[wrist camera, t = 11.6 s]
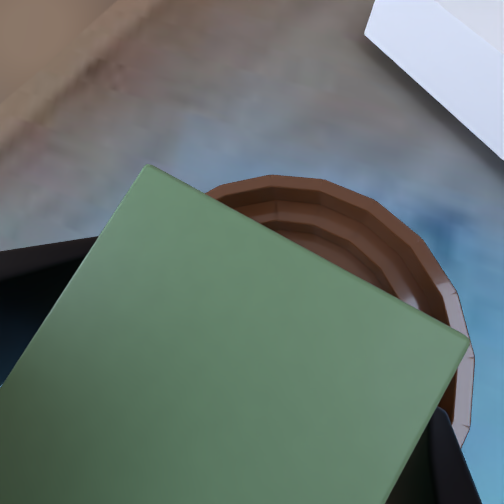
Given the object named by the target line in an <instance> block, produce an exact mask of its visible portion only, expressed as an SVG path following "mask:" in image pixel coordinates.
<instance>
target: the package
mask: <svg viewBox="0 0 504 504" xmlns="http://www.w3.org/2000/svg"><path fill="white" fill-rule="evenodd" d="M469 346H470V340H469V338H468V337H467V336H466V335H464V334H462V333H461V332H459V331H457V330H455V329H453V328H451V327H450V326H448V325H446V324H444V323H442V322H440V321H438V320H437V319H435V318H433V317H431V316H429V315H427V314H426V313H424V312H422V311H420V310H418V309H416V308H415V307H413V306H411V305H409V304H407V303H405V302H403V301H402V300H400V299H398V298H396V297H394V296H392V295H391V294H389V293H387V292H385V291H383V290H381V289H380V288H378V287H376V286H374V285H372V284H370V283H368V282H367V281H365V280H363V279H361V278H359V277H357V276H356V275H354V274H352V273H350V272H348V271H346V270H345V269H343V268H341V267H339V266H337V265H335V264H333V263H332V262H330V261H328V260H326V259H324V258H322V257H321V256H319V255H317V254H315V253H313V252H311V251H310V250H308V249H306V248H304V247H302V246H300V245H298V244H297V243H295V242H293V241H291V240H289V239H287V238H286V237H284V236H282V235H280V234H278V233H276V232H275V231H273V230H271V229H269V228H267V227H265V226H263V225H262V224H260V223H258V222H256V221H254V220H252V219H251V218H249V217H247V216H245V215H243V214H241V213H239V212H238V211H236V210H234V209H232V208H230V207H228V206H227V205H225V204H223V203H221V202H219V201H217V200H216V199H214V198H212V197H210V196H208V195H206V194H204V193H203V192H201V191H199V190H197V189H195V188H193V187H192V186H190V185H188V184H186V183H184V182H182V181H181V180H179V179H177V178H175V177H173V176H171V175H169V174H168V173H166V172H164V171H162V170H160V169H158V168H157V167H155V166H153V165H149V164H147V165H145V166H144V168H143V169H142V171H141V172H140V174H139V175H138V177H137V178H136V180H135V181H134V183H133V184H132V186H131V188H130V189H129V191H128V192H127V194H126V195H125V197H124V198H123V200H122V201H121V203H120V204H119V206H118V208H117V209H116V211H115V212H114V214H113V215H112V217H111V218H110V220H109V221H108V223H107V224H106V226H105V228H104V229H103V231H102V232H101V234H100V235H99V237H98V238H97V240H96V241H95V243H94V244H93V246H92V248H91V249H90V251H89V252H88V254H87V255H86V257H85V258H84V260H83V261H82V263H81V265H80V266H79V268H78V269H77V271H76V272H75V274H74V275H73V277H72V278H71V280H70V281H69V283H68V285H67V286H66V288H65V289H64V291H63V292H62V294H61V295H60V297H59V298H58V300H57V301H56V303H55V305H54V306H53V308H52V309H51V311H50V312H49V314H48V315H47V317H46V318H45V320H44V321H43V323H42V325H41V326H40V328H39V329H38V331H37V332H36V334H35V335H34V337H33V338H32V340H31V341H30V343H29V345H28V346H27V348H26V349H25V351H24V352H23V354H22V355H21V357H20V358H19V360H18V362H17V363H16V365H15V366H14V368H13V369H12V371H11V372H10V374H9V375H8V377H7V378H6V380H5V382H4V383H3V385H2V386H1V388H0V504H385V502H386V500H387V499H388V497H389V495H390V493H391V491H392V489H393V487H394V486H395V484H396V482H397V480H398V478H399V476H400V474H401V472H402V471H403V469H404V467H405V465H406V463H407V461H408V459H409V458H410V456H411V454H412V452H413V450H414V448H415V446H416V445H417V443H418V441H419V439H420V437H421V435H422V433H423V431H424V430H425V428H426V426H427V424H428V422H429V420H430V418H431V417H432V415H433V413H434V411H435V409H436V407H437V405H438V404H439V402H440V400H441V398H442V396H443V394H444V392H445V390H446V389H447V387H448V385H449V383H450V381H451V379H452V377H453V376H454V374H455V372H456V370H457V368H458V366H459V364H460V363H461V361H462V359H463V357H464V355H465V353H466V351H467V349H468V348H469Z"/></svg>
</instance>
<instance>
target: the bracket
mask: <svg viewBox="0 0 504 504" xmlns="http://www.w3.org/2000/svg"><path fill="white" fill-rule="evenodd" d="M364 35H365V36H366V37H368V38H369V39H370V40H371V41H372V42H373V43H374V44H375V45H376V46H377V47H379V48H380V49H381V50H382V51H383V52H384V53H385V54H386V55H387V56H389V57H390V58H391V59H392V60H393V61H394V62H395V63H396V64H397V65H398V66H400V67H401V68H402V69H403V70H404V71H405V72H406V73H407V74H408V75H410V76H411V77H412V78H413V79H414V80H415V81H416V82H417V83H418V84H419V85H421V86H422V87H423V88H424V89H425V90H426V91H427V92H428V93H429V94H431V95H432V96H433V97H434V98H435V99H436V100H437V101H438V102H439V103H440V104H442V105H443V106H444V107H445V108H446V109H447V110H448V111H449V112H450V113H452V114H453V115H454V116H455V117H456V118H457V119H458V120H459V121H460V122H462V123H463V124H464V125H465V126H466V127H467V128H468V129H469V130H470V131H471V132H473V133H474V134H475V135H476V136H477V137H478V138H479V139H480V140H481V141H483V142H484V143H485V144H486V145H487V146H488V147H489V148H490V149H491V150H492V151H494V152H495V153H496V154H497V155H498V156H499V157H500V158H501V159H502V160H504V0H375V2H374V5H373V8H372V11H371V14H370V17H369V20H368V23H367V26H366V29H365V32H364Z"/></svg>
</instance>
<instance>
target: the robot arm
mask: <svg viewBox="0 0 504 504" xmlns="http://www.w3.org/2000/svg"><path fill="white" fill-rule="evenodd" d="M98 237H99V236H97V237H90V238H84V239H78V240H71V241H65V242H58V243H52V244H45V245H39V246H32V247H26V248H19V249H13V250H6V251H0V386H1V385H2V384H3V383H4V382H5V380H6V378H7V377H8V375H9V374H10V372H11V371H12V369H13V368H14V366H15V365H16V363H17V362H18V360H19V358H20V357H21V355H22V354H23V352H24V351H25V349H26V348H27V346H28V345H29V343H30V341H31V340H32V338H33V337H34V335H35V334H36V332H37V331H38V329H39V328H40V326H41V325H42V323H43V321H44V320H45V318H46V317H47V315H48V314H49V312H50V311H51V309H52V308H53V306H54V305H55V303H56V301H57V300H58V298H59V297H60V295H61V294H62V292H63V291H64V289H65V288H66V286H67V285H68V283H69V281H70V280H71V278H72V277H73V275H74V274H75V272H76V271H77V269H78V268H79V266H80V265H81V263H82V261H83V260H84V258H85V257H86V255H87V254H88V252H89V251H90V249H91V248H92V246H93V244H94V243H95V241H96V240H97V238H98ZM385 504H482V502H481V499H480V497H479V494H478V492H477V489H476V487H475V484H474V481H473V479H472V476H471V474H470V471H469V469H468V466H467V464H466V461H465V458H464V456H463V453H462V451H461V448H460V446H459V443H458V440H457V438H456V435H455V433H454V430H453V428H452V425H451V422H450V420H449V417H448V415H447V413H446V412H445V410H443V409H442V408H440V407H438V406H437V407H436V409H435V411H434V413H433V415H432V417H431V418H430V420H429V422H428V424H427V426H426V428H425V430H424V431H423V433H422V435H421V437H420V439H419V441H418V443H417V445H416V446H415V448H414V450H413V452H412V454H411V456H410V458H409V459H408V461H407V463H406V465H405V467H404V469H403V471H402V472H401V474H400V476H399V478H398V480H397V482H396V484H395V486H394V487H393V489H392V491H391V493H390V495H389V497H388V499H387V500H386V502H385Z"/></svg>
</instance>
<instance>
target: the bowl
mask: <svg viewBox="0 0 504 504" xmlns="http://www.w3.org/2000/svg"><path fill="white" fill-rule="evenodd" d="M205 194H206V195H208V196H210V197H212V198H214V199H216V200H217V201H219V202H221V203H223V204H225V205H227V206H228V207H230V208H232V209H234V210H236V211H238V212H239V213H241V214H243V215H245V216H247V217H249V218H251V219H252V220H254V221H256V222H258V223H260V224H262V225H263V226H265V227H267V228H269V229H271V230H273V231H275V232H276V233H278V234H280V235H282V236H284V237H286V238H287V239H289V240H291V241H293V242H295V243H297V244H298V245H300V246H302V247H304V248H306V249H308V250H310V251H311V252H313V253H315V254H317V255H319V256H321V257H322V258H324V259H326V260H328V261H330V262H332V263H333V264H335V265H337V266H339V267H341V268H343V269H345V270H346V271H348V272H350V273H352V274H354V275H356V276H357V277H359V278H361V279H363V280H365V281H367V282H368V283H370V284H372V285H374V286H376V287H378V288H380V289H381V290H383V291H385V292H387V293H389V294H391V295H392V296H394V297H396V298H398V299H400V300H402V301H403V302H405V303H407V304H409V305H411V306H413V307H415V308H416V309H418V310H420V311H422V312H424V313H426V314H427V315H429V316H431V317H433V318H435V319H437V320H438V321H440V322H442V323H444V324H446V325H448V326H450V327H451V328H453V329H455V330H457V331H459V332H461V333H462V334H464V335H466V336H467V337H468V338H469V340H470V337H469V333H468V330H467V326H466V322H465V319H464V315H463V311H462V307H461V304H460V300H459V296H458V293H456V292H457V291H456V289H455V288H454V286H453V285H452V283H451V282H450V280H449V279H448V277H447V276H446V274H445V273H444V271H443V269H442V268H441V266H440V265H439V263H438V262H437V260H436V259H435V257H434V256H433V254H432V253H431V251H430V250H429V248H428V246H427V245H426V243H425V242H424V240H423V239H421V237H420V236H419V235H417V234H416V233H415V232H414V231H413V230H411V229H410V228H409V227H408V226H406V225H405V224H404V223H403V222H402V221H400V220H399V219H398V218H397V217H395V216H394V215H393V214H392V213H391V212H389V211H388V210H387V209H386V208H384V207H383V206H382V205H381V204H380V203H378V202H377V201H375V200H374V199H371V198H369V197H366V196H364V195H361V194H359V193H356V192H354V191H351V190H349V189H347V188H344V187H342V186H339V185H337V184H334V183H332V182H329V181H327V180H323V179H315V178H303V177H292V176H281V175H266V176H261V177H257V178H252V179H247V180H242V181H237V182H233V183H228V184H223V185H220V186H218V187H216V188H214V189H212V190H210V191H209V192H207V193H205ZM474 366H475V356H474V352H473V348H472V345H471V341H470V346H469V348H468V349H467V351H466V353H465V355H464V357H463V359H462V361H461V363H460V364H459V366H458V368H457V370H456V372H455V374H454V376H453V377H452V379H451V381H450V383H449V385H448V387H447V389H446V390H445V392H444V394H443V396H442V398H441V400H440V402H439V404H438V405H437V406H438V407H440V408H442V409H443V410H445V412H446V413H447V415H448V417H449V420H450V422H451V425H452V428H453V430H454V433H455V435H456V438H457V440H458V443H459V446H460V448H461V447H462V445H463V443H464V441H465V438H466V436H467V434H468V432H469V430H470V428H469V427H470V424H471V409H472V395H473V380H474Z"/></svg>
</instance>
